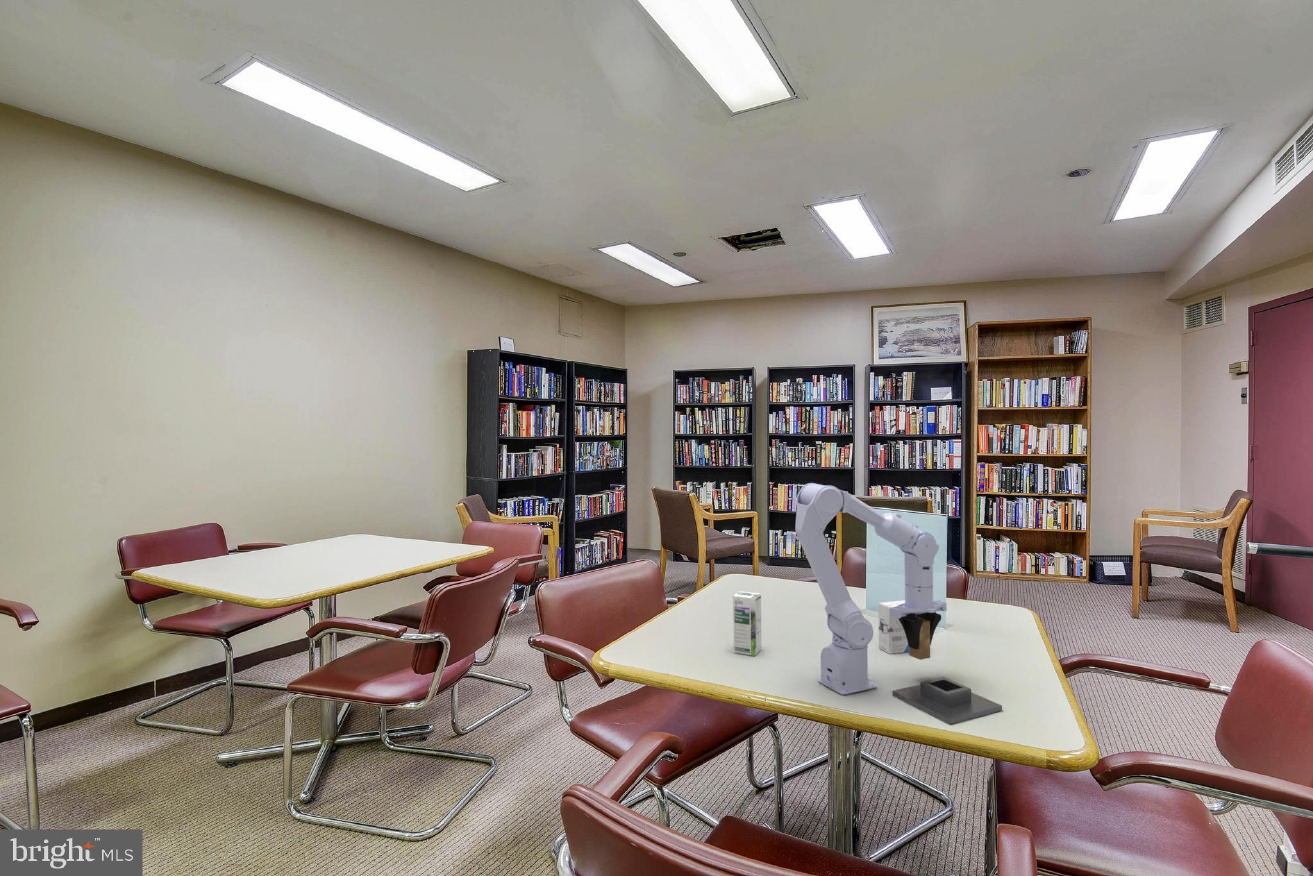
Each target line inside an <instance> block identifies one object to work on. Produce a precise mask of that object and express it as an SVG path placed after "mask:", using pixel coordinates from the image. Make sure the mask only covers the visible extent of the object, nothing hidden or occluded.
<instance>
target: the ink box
mask: <svg viewBox="0 0 1313 876" xmlns="http://www.w3.org/2000/svg"><path fill="white" fill-rule="evenodd" d="M903 603H905V599H903V600H895V601H894V600H893V601H884V602H878V648H879V649H880V650H881V651H884V652H885V653H887V654H889V655H894V654H893V653H895V654H900V653H909V645H908V641H907V638H906V634H905V631H904V629H903V627H902V625H901V623H900V621H899V619H897V618H894V617H891V607H896V606H898V605H900V604H903Z"/></svg>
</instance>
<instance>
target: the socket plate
mask: <svg viewBox="0 0 1313 876" xmlns="http://www.w3.org/2000/svg"><path fill="white" fill-rule="evenodd" d="M891 693H892V694H891V695H893V697H894V696H895V697H894V698H896V697H897V698H896V699H898V698H899V699H898V700H900V699H901V700H900V701H902V702H905V703H906V704H908V705H910V706H912V707H914V708H916V709H918V710H920V711H922V712H924V713H925V714H928V715H930V716H931V717H934V718H936V719H938V720H939V721H942V722H943V723H946V724H948V725H954V724H958V723H961V722H966V721H969V720H972V719H976V718H980V717H984V716H987V715H991V714H995V713H998V712H1001V711H1003V705H1002V704H999V703H997V702H994V701H993V700H990V699H988V698H986V697H983V696H981V695H979V694H977V693H973V692H972V688H971V687H968V686H966V685H964V684H961V683H960V682H956V681H954V680H952V679H949V678H947V677H945V676H941V677H937V678H932V679H928V680H923V681H920V684H916V685H912V686H907V687H903V688H899V689H893V690H892V692H891Z"/></svg>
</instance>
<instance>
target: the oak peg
mask: <svg viewBox="0 0 1313 876" xmlns="http://www.w3.org/2000/svg"><path fill="white" fill-rule="evenodd" d="M919 619H922V618H919ZM922 620H923V623H922V626H921V630H920V636H919V647H918V649H913V648H911V647H909V652H908V655H909V656H910V657H913V658H915V659H917V660H927V659H930V658H931V645H930V621H928V620H925V619H922Z"/></svg>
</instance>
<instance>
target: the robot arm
mask: <svg viewBox="0 0 1313 876" xmlns="http://www.w3.org/2000/svg"><path fill="white" fill-rule="evenodd" d="M794 499H795V500H794V501H795V505H796V515H795V529H794V531H795V534H796V536H797V538H798V541H799V543H800V545H801V548H802V549H803V552H804V554H805V557H806V559H807V561H808V563H809V566H810V567H811V571H812V572H813V575H814V578H815V580H816V582H817V584H818V586H819V588H820V592H821V593H822V595H823V598H824V601H825V602H826V605H825V607H824V611H825V613H826V622H827V624H826V625H827V628H828V629H829V631H830V632H831V633H832V640H831V641H832V642H831V643H830V644H829V645H827V646H825V647H824V648H822V649H821V652H820V678H819V679H818V682H819V683H820V684H822V685H824V686H825V687H826V688H827V687H828V688H829V689H831V690H832V691H834V692H836V693H838V694H840V695H841V696H842V695H843V696H845V694H846V695H850V694H854V693H858V692H863V691H867V690H873V689H877V688H878V685H877V684H876V683H874V682H872V681H870V680H869V679H868V677H869V676H868V675H869V670H868V669H869V667H868V665H869V664H868V658H869V657H868V646H869V644H870V643H871V641H872V640H873V637H874V628H873V625H872V623H871V622H870V621H869V620H868V619H867V618H865V616H864V615H863V613H862V610H861V609H860V608H859V607H858V605H857V604H856V603H855V602H854V600H853V599H852V597H851V595H850V592H849V590H848V588H847V586H846V583H845V581H844V579H843V576H842V575H841V574H842V573H841V572H840V569H839V567H838V565H837V562H836V561H835V558H834V555H833V553H832V550H831V548H830V547H829V544H828V541H827V540H826V537H825V534H824V532H825V530H826V528H827V525H828V524H829V523H830V522H831V521H832V520H833V519H834V517H836V516H837V514H838V513H842V514H844V513H847V514H850V515H851V516H852V517H853V516H854V517H855V518H857V519H859V520H861V521H863V522H865V523H866V524H868V525H871V526H872V527H874V528H873V529H874V532H875V534H876V535H877V536H879V537H880V538H881V539H883V540H885V541H887V542H889V543H890V544H892V545H894V546H896V547H897V548H899V549H900V551H901V553H904V600H905V603H903V604H900V605H898V606H896V607H891V617H894V618H897V619H899V621H900V623H901V625H902V627H903V629H904V631H905V634H906V638H907V641H908V645H909V647H911V648H913V649H918V647H919V636H920V630H921V626H922V623H923V620H922V619H925V620H928V621H930V646H931V645H932V642H933V638H934V635H935V631H936V629H937V627H938V625H939V623H940V622H941V620H942V614H939V613H937V612H940V611H942V612H946V611H947V608H948V606H947V602H946V601H944V600H940V599H939V600H934V566H933V565H934V564H935V563H934V562H935V557H936V555H937V554H938V552H939V548H940V544H937V540H936V539H935V536H934V535H933V534H931V533H930V532H926V531H922V530H920V529H919V526H918V525H917V524H914V523H909V522H908V521H905V520H904V519H902V518H901V517H902V515H901V514H899V512H898V513H897V512H893V513H892V512H885V513H881V512H879V511H878V510H876V509H874V508H872V507H871V506H869V505H868V504H867V503H865V502H863V501H862V500H860V499H859V498H857V497H855V496H854V495H853V494H851V493H849V492H848V491H845V490H841V489H839V488H838V487H836V486H834V485H824V484H819V483H814V482H810V483H809V482H808V483H806V484H805V485H803V486H802V487H801V488H800V490H799V492H798V493H797V496H796V498H794ZM919 618H922V619H919Z"/></svg>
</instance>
